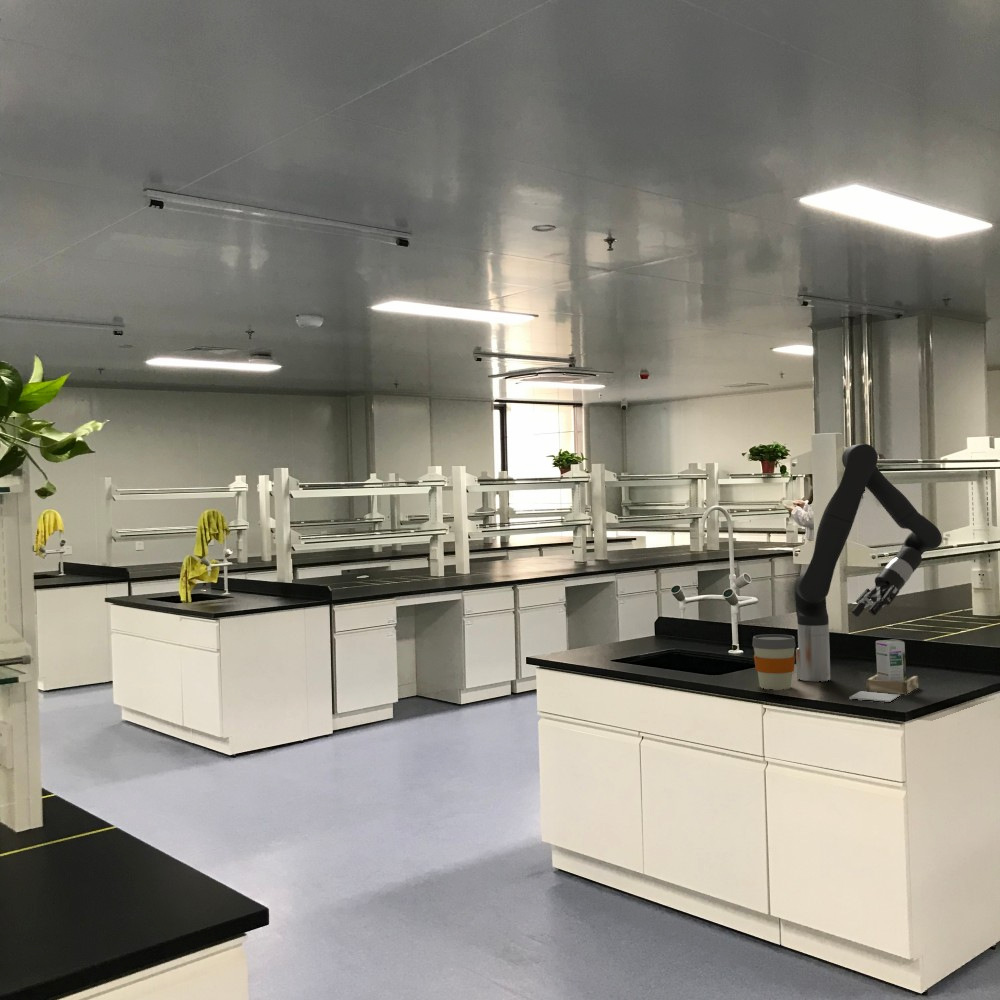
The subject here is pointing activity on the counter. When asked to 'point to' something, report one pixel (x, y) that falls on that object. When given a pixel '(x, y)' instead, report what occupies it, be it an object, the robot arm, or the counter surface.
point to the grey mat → (874, 696)
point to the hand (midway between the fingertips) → (862, 614)
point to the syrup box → (891, 660)
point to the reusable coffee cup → (774, 660)
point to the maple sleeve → (892, 685)
